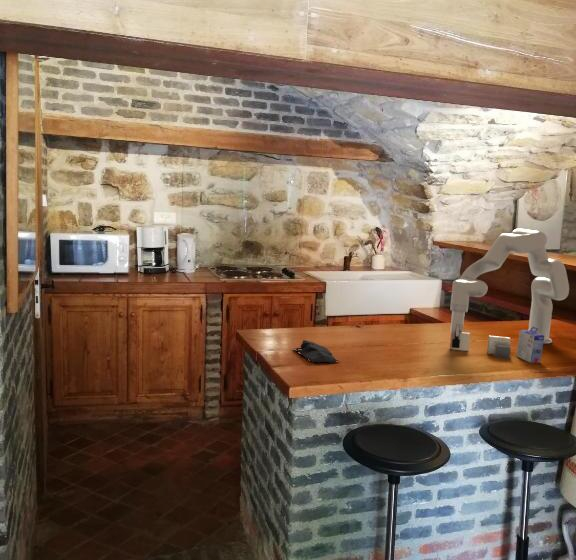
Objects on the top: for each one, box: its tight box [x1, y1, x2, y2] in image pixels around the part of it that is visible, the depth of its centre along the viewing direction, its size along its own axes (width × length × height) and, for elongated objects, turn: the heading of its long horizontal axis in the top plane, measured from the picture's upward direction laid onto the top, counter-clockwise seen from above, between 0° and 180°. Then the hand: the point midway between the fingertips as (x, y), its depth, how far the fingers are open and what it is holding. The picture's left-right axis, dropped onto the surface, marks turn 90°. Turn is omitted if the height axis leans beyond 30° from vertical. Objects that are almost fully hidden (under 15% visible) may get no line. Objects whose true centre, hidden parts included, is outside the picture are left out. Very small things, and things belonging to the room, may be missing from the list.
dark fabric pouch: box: [295, 339, 339, 363], centre depth 239 cm, size 15×22×5 cm
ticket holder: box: [486, 335, 512, 360], centre depth 252 cm, size 10×9×8 cm
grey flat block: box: [449, 331, 471, 352], centre depth 256 cm, size 2×8×8 cm, turn 75°
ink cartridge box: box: [515, 327, 544, 364], centre depth 245 cm, size 10×6×14 cm, turn 15°
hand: (455, 346), depth 257 cm, fingers closed on grey flat block
